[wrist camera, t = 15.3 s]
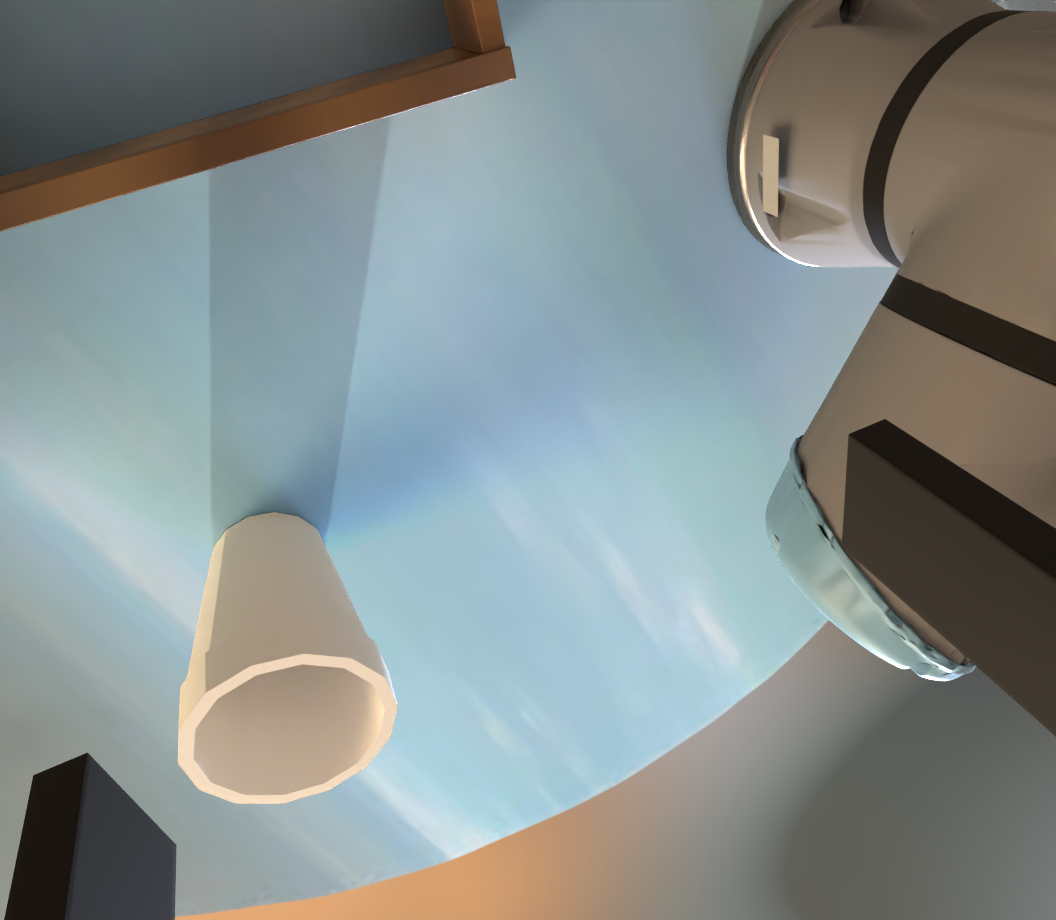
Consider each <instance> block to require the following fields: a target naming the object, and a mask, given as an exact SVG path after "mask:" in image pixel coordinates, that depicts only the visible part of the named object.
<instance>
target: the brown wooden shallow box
mask: <svg viewBox="0 0 1056 920" xmlns="http://www.w3.org/2000/svg"><path fill="white" fill-rule="evenodd" d="M443 4H444V8H445V13H446V17H447V21H448V26H449V30H450V34H451V39H452V43H453V46H454V47H453V48H450V49H446V50H443V51H439V52H436V53H432V54H429V55H425V56H422V57H418V58H415V59H411V60H408V61H404V62H401V63H397V64H394V65H390V66H387V67H383V68H380V69H376V70H373V71H369V72H366V73H362V74H359V75H355V76H352V77H348V78H345V79H341V80H337V81H334V82H330V83H327V84H323V85H320V86H316V87H313V88H309V89H306V90H302V91H299V92H295V93H292V94H288V95H285V96H281V97H278V98H274V99H271V100H267V101H264V102H260V103H257V104H253V105H250V106H246V107H243V108H239V109H236V110H232V111H229V112H225V113H222V114H218V115H215V116H211V117H208V118H204V119H201V120H197V121H194V122H190V123H187V124H183V125H180V126H176V127H173V128H169V129H166V130H162V131H159V132H155V133H152V134H148V135H145V136H141V137H138V138H134V139H131V140H127V141H124V142H120V143H117V144H113V145H109V146H106V147H102V148H99V149H95V150H92V151H88V152H85V153H81V154H78V155H74V156H71V157H67V158H64V159H60V160H57V161H53V162H50V163H46V164H43V165H39V166H36V167H32V168H29V169H25V170H22V171H18V172H15V173H11V174H8V175H4V176H1V177H0V232H1V231H5V230H8V229H11V228H15V227H18V226H21V225H25V224H28V223H31V222H35V221H38V220H42V219H45V218H48V217H52V216H55V215H58V214H62V213H65V212H68V211H72V210H75V209H79V208H82V207H85V206H89V205H92V204H95V203H99V202H102V201H106V200H109V199H112V198H116V197H119V196H122V195H126V194H129V193H132V192H136V191H139V190H143V189H146V188H149V187H153V186H156V185H159V184H163V183H166V182H169V181H173V180H176V179H180V178H183V177H186V176H190V175H193V174H196V173H200V172H203V171H206V170H210V169H213V168H217V167H220V166H223V165H227V164H230V163H233V162H237V161H240V160H244V159H247V158H250V157H254V156H257V155H260V154H264V153H267V152H270V151H274V150H277V149H281V148H284V147H287V146H291V145H294V144H297V143H301V142H304V141H307V140H311V139H314V138H318V137H321V136H324V135H328V134H331V133H334V132H338V131H341V130H344V129H348V128H351V127H355V126H358V125H361V124H365V123H368V122H371V121H375V120H378V119H382V118H385V117H388V116H392V115H395V114H398V113H402V112H405V111H408V110H412V109H415V108H419V107H422V106H425V105H429V104H432V103H435V102H439V101H442V100H445V99H449V98H452V97H456V96H459V95H462V94H466V93H469V92H472V91H476V90H479V89H482V88H486V87H489V86H493V85H496V84H499V83H503V82H506V81H509V80H513V79H515V78H516V74H515V69H514V64H513V59H512V54H511V48H510V47H509V46H505V42H504V37H503V32H502V27H501V21H500V16H499V11H498V6H497V1H496V0H443Z"/></svg>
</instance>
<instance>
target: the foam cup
mask: <svg viewBox="0 0 1056 920" xmlns="http://www.w3.org/2000/svg"><path fill="white" fill-rule="evenodd" d="M397 706H398V705H397V701H396V698H395V694H394V691H393V687H392V683H391V680H390V676H389V673H388V669H387V667H386V665H385V663H384V660H383V658H382V656H381V654H380V652H379V649H378V647H377V645H376V643H375V641H373V640H372V639H370V638H369V637H368V636H367V634H366V631H365V629H364V627H363V625H362V623H361V621H360V619H359V616H358V614H357V612H356V610H355V608H354V606H353V604H352V602H351V599H350V597H349V595H348V593H347V591H346V589H345V587H344V585H343V582H342V580H341V578H340V576H339V574H338V572H337V570H336V567H335V565H334V563H333V561H332V559H331V557H330V555H329V553H328V550H327V548H326V546H325V544H324V542H323V540H322V538H321V535H320V534H319V532H318V530H317V529H316V528H315V527H313V526H312V525H310V524H309V523H308V522H306V521H305V520H303V519H302V518H300V517H298V516H293V515H288V514H282V513H277V512H272V513H266V514H260V515H255V516H249V517H247V518H245V519H243V520H242V521H240V522H238V523H237V524H235V525H233V526H232V527H230V528H228V529H226V531H225V532H224V533H223V535H222V536H221V538H220V539H219V541H218V542H217V543H216V545H215V546H214V548H213V554H212V555H211V560H210V565H209V570H208V575H207V580H206V585H205V590H204V595H203V600H202V605H201V610H200V615H199V620H198V625H197V630H196V635H195V640H194V645H193V650H192V655H191V660H190V665H189V670H188V675H187V678H186V680H185V681H184V683H183V684H182V685H181V687H180V707H179V738H178V764H179V765H180V766H181V768H182V769H183V770H184V771H185V773H186V774H187V775H188V776H189V778H190V779H191V780H192V781H193V783H194V784H195V785H196V786H197V788H198V789H199V790H201V791H204V792H206V793H209V794H212V795H215V796H217V797H220V798H223V799H225V800H228V801H231V802H234V803H236V804H283V803H286V802H290V801H293V800H297V799H300V798H304V797H307V796H310V795H314V794H317V793H321V792H324V791H328V790H330V789H331V788H333V787H334V786H336V785H338V784H339V783H341V782H343V781H344V780H346V779H347V778H349V777H351V776H352V775H354V774H356V773H357V772H359V771H360V770H362V769H364V768H365V767H366V766H367V765H368V764H369V763H370V762H371V760H372V759H373V758H374V757H375V756H376V754H377V753H378V752H379V751H380V750H381V748H382V747H383V746H384V745H385V744H386V742H387V741H388V740H389V739H390V738H391V734H392V729H393V725H394V720H395V715H396V711H397Z"/></svg>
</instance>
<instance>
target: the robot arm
mask: <svg viewBox="0 0 1056 920" xmlns="http://www.w3.org/2000/svg"><path fill="white" fill-rule="evenodd" d="M727 170H728V180H729V185H730V190H731V194H732V198H733V201H734V204H735V207H736V209H737V211H738V214H739V216H740V217H741V219H742V221H743V223H744V225H745V226H746V227H747V229H748V230H749V231H750V233H751V234H752V235H753V236H754V237H755V238H756V239H757V240H758V241H759V242H760V243H762V244H763V245H764V246H766V247H767V248H769V249H771V250H772V251H774V252H776V253H778V254H780V255H782V256H785V257H787V258H789V259H791V260H793V261H796V262H798V263H801V264H805V265H809V266H816V267H898V268H899V270H898V271H897V274H896V276H895V277H894V279H893V281H892V283H891V284H890V286H889V288H888V290H887V291H886V293H885V295H884V297H883V298H882V300H881V301H880V302H879V304H878V306H877V307H876V309H875V311H874V313H873V314H872V316H871V318H870V320H869V321H868V323H867V325H866V327H865V329H864V330H863V332H862V334H861V336H860V337H859V339H858V341H857V343H856V345H855V346H854V348H853V350H852V352H851V353H850V355H849V357H848V359H847V361H846V362H845V364H844V366H843V368H842V369H841V371H840V373H839V375H838V376H837V378H836V380H835V382H834V384H833V385H832V387H831V389H830V391H829V392H828V394H827V396H826V398H825V400H824V401H823V403H822V405H821V407H820V408H819V410H818V412H817V413H816V415H815V417H814V418H813V420H812V422H811V424H810V425H809V427H808V429H807V430H806V432H805V434H804V435H802V436H800V437H799V438H796V440H795V441H794V443H793V445H792V447H791V449H790V459H789V461H788V463H787V465H786V467H785V469H784V471H783V473H782V475H781V477H780V479H779V481H778V483H777V485H776V487H775V489H774V491H773V493H772V495H771V497H770V500H769V502H768V505H767V510H766V530H767V534H768V538H769V540H770V543H771V547H772V548H773V550H774V552H775V553H776V555H777V557H778V558H779V560H780V563H781V565H782V567H783V569H784V570H785V572H786V573H787V574H788V576H789V577H790V578H791V580H792V581H793V582H794V584H795V585H796V586H797V587H798V589H799V590H800V591H801V592H802V593H803V594H804V595H805V596H806V598H807V599H808V600H809V601H810V602H811V603H812V604H813V605H814V606H815V607H816V608H817V609H818V610H819V611H820V612H821V613H822V614H823V615H825V616H826V617H827V618H828V619H829V620H830V621H831V622H833V623H834V624H835V625H836V626H837V627H838V628H840V629H841V630H842V631H843V632H844V633H846V634H847V635H848V636H850V637H851V638H852V639H853V640H855V641H856V642H857V643H859V644H860V645H861V646H863V647H865V648H866V649H867V650H869V651H870V652H872V653H873V654H875V655H877V656H878V657H880V658H882V659H884V660H885V661H887V662H889V663H891V664H893V665H895V666H897V667H899V668H901V669H908V668H911V669H912V670H913V671H914V672H915V673H916V674H918V675H919V676H920V677H923V678H927V679H931V680H937V681H948V680H952V679H955V678H958V677H960V676H961V675H963V674H967V673H970V672H972V671H973V670H974V669H975V667H976V666H977V667H978V668H979V669H980V670H981V671H982V672H983V673H985V674H986V675H987V676H988V677H989V678H990V679H991V680H993V681H994V682H995V683H996V684H997V685H998V686H999V687H1000V688H1002V689H1003V690H1004V691H1005V692H1006V693H1007V694H1008V695H1009V696H1011V697H1012V698H1013V699H1014V700H1015V701H1016V702H1017V703H1018V704H1020V705H1021V706H1022V707H1023V708H1024V709H1025V710H1026V711H1028V712H1029V713H1030V714H1031V715H1032V716H1033V717H1035V719H1037V720H1038V721H1039V722H1040V723H1041V724H1042V725H1043V726H1044V727H1046V728H1047V729H1048V730H1049V731H1050V732H1051V733H1052V734H1054V735H1055V736H1056V12H1046V11H1014V10H1005V9H1004V8H1002V7H1000V6H999V5H997V4H995V3H993V2H992V1H990V0H796V1H795V2H794V3H793V4H792V5H790V6H789V8H788V9H787V10H786V11H785V12H784V13H783V14H782V15H781V16H780V18H779V19H778V20H777V21H776V23H775V24H774V25H773V27H772V28H771V29H770V30H769V32H768V33H767V35H766V36H765V38H764V39H763V41H762V42H761V44H760V46H759V47H758V49H757V51H756V53H755V55H754V56H753V58H752V60H751V62H750V64H749V66H748V68H747V71H746V73H745V75H744V77H743V80H742V83H741V85H740V88H739V90H738V94H737V97H736V100H735V104H734V107H733V111H732V116H731V120H730V126H729V133H728V143H727ZM175 882H176V844H175V843H174V842H173V841H172V840H171V839H170V838H169V837H168V836H167V835H166V834H165V833H164V832H163V831H162V830H161V829H160V828H159V827H158V825H157V824H156V823H155V822H154V821H153V820H152V819H151V818H150V817H149V816H148V815H147V814H146V813H145V812H144V811H143V810H142V809H141V808H140V807H139V806H138V805H137V804H136V803H135V802H134V801H133V799H132V798H131V797H130V796H129V795H128V794H127V793H126V792H125V791H124V790H123V789H122V788H121V787H120V786H119V785H118V784H117V783H116V782H115V781H114V780H113V779H112V778H111V777H110V776H109V775H108V773H107V772H106V771H105V770H104V769H103V768H102V767H101V766H100V765H99V764H98V763H97V762H96V761H95V760H94V759H93V758H92V757H91V756H90V755H89V754H88V753H86V754H83V755H81V756H78V757H76V758H74V759H71V760H69V761H67V762H64V763H62V764H59V765H57V766H55V767H52V768H50V769H47V770H45V771H43V772H40V773H38V774H35V775H33V780H32V785H31V790H30V795H29V800H28V805H27V810H26V815H25V820H24V825H23V830H22V835H21V840H20V844H19V849H18V854H17V859H16V864H15V869H14V874H13V879H12V884H11V889H10V894H9V899H8V904H7V909H6V914H5V919H4V920H175Z"/></svg>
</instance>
